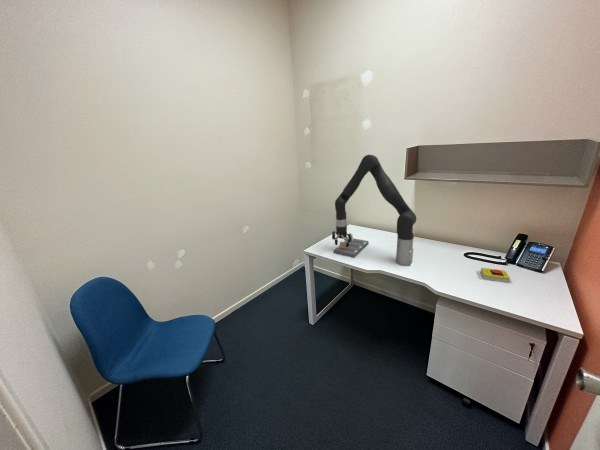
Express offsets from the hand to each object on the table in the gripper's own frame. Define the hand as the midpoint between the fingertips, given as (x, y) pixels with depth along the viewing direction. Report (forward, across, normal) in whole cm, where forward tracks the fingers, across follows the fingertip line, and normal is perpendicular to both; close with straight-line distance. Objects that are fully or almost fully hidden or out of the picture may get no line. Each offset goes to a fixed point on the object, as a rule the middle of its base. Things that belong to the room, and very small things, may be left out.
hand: (341, 245), depth 180 cm
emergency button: (+6, -88, -10) cm, 89 cm away
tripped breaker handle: (+2, 0, 0) cm, 2 cm away
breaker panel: (+5, -4, -8) cm, 10 cm away
